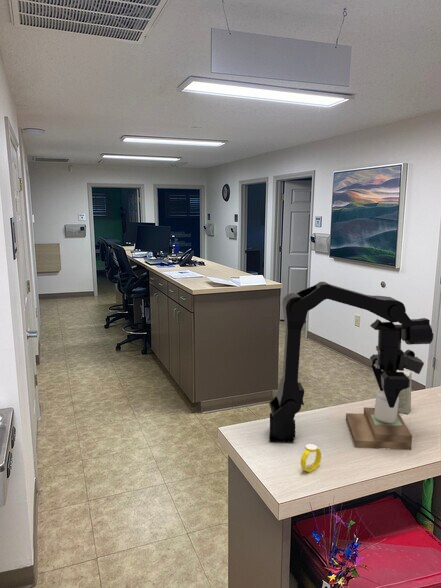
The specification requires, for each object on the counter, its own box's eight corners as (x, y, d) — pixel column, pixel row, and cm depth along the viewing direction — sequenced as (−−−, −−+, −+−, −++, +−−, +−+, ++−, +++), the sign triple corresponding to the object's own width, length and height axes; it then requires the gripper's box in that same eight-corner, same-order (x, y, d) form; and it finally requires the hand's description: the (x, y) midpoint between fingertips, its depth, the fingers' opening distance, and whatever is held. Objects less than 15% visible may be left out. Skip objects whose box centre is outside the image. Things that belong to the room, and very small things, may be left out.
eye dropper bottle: (387, 427, 115) (392, 389, 111) (371, 416, 120) (375, 378, 116) (398, 422, 117) (404, 384, 113) (382, 411, 122) (386, 374, 118)
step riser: (354, 447, 113) (355, 432, 113) (345, 419, 129) (346, 406, 128) (411, 449, 111) (412, 434, 111) (395, 421, 127) (395, 407, 126)
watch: (314, 463, 107) (315, 440, 106) (323, 468, 105) (324, 445, 104) (297, 471, 103) (299, 447, 103) (306, 476, 101) (308, 452, 101)
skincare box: (411, 409, 135) (412, 371, 132) (408, 414, 131) (410, 376, 129) (389, 405, 138) (390, 368, 136) (386, 410, 134) (387, 372, 132)
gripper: (433, 356, 105) (430, 416, 108) (410, 335, 124) (408, 387, 126) (385, 355, 107) (383, 415, 110) (370, 335, 125) (368, 386, 128)
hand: (387, 400), depth 118 cm, fingers open, 9 cm apart
